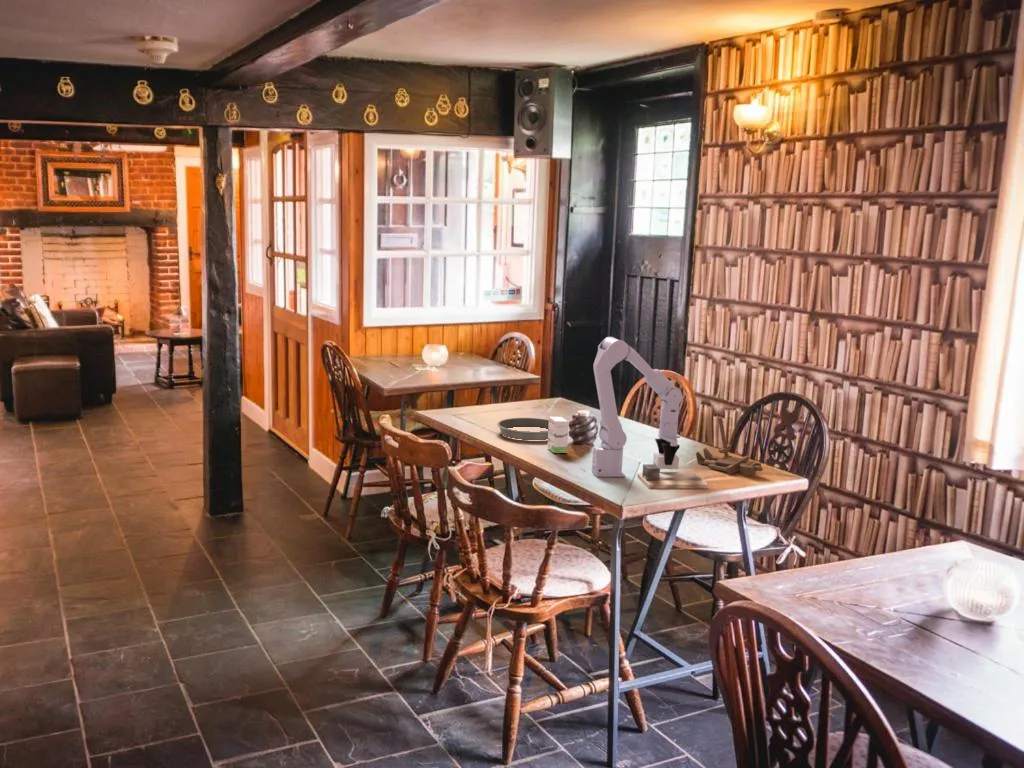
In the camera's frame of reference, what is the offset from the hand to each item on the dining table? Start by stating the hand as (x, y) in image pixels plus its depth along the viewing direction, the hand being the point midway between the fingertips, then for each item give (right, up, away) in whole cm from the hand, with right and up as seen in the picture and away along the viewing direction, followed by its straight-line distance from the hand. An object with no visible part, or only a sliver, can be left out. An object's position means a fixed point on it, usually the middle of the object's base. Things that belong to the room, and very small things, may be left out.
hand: (665, 462), depth 311 cm
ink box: (-35, +2, +24) cm, 42 cm away
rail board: (0, -5, -11) cm, 13 cm away
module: (0, -1, 0) cm, 2 cm away
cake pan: (-44, +6, +47) cm, 65 cm away
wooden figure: (+22, -4, +6) cm, 23 cm away
